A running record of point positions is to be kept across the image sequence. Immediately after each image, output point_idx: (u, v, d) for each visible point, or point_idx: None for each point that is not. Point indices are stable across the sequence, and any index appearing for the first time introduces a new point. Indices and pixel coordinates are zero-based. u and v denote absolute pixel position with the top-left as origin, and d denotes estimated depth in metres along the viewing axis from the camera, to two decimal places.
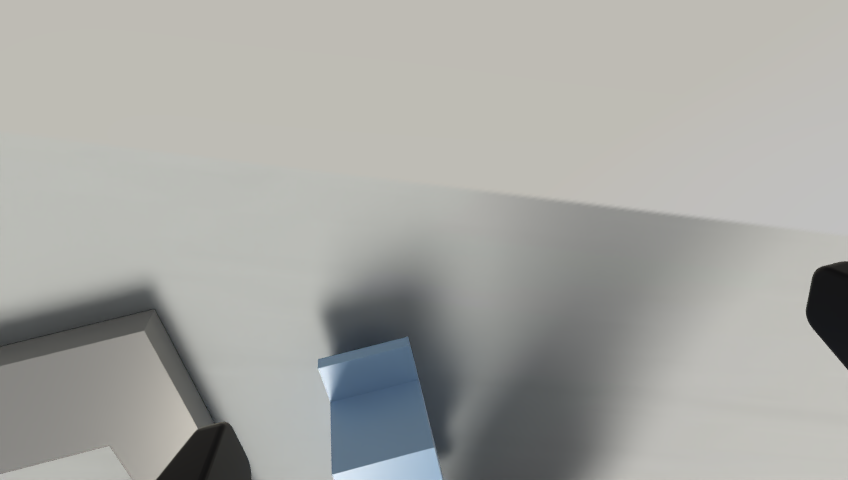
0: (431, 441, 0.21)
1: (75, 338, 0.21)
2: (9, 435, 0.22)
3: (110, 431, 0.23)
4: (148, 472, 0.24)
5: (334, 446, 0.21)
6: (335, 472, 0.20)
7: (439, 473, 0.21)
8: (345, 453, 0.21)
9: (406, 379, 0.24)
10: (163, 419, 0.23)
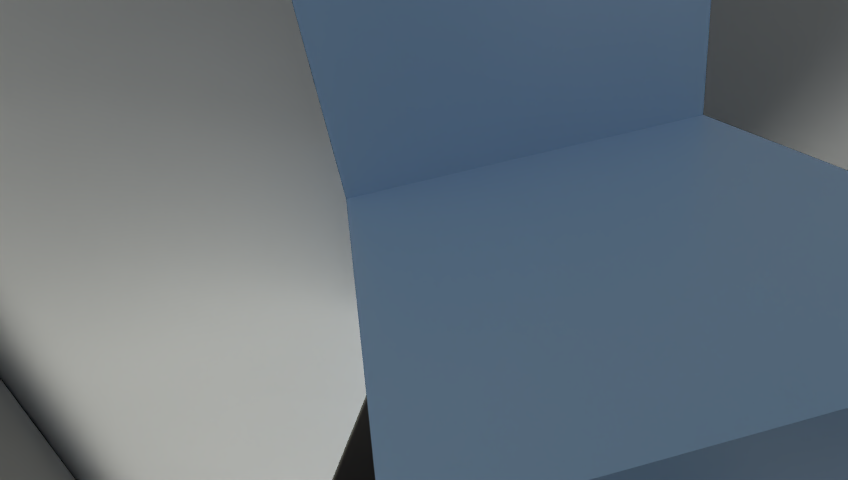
0: None
1: None
2: None
3: None
4: None
5: (381, 342, 0.03)
6: None
7: None
8: (464, 375, 0.03)
9: (659, 107, 0.06)
10: None
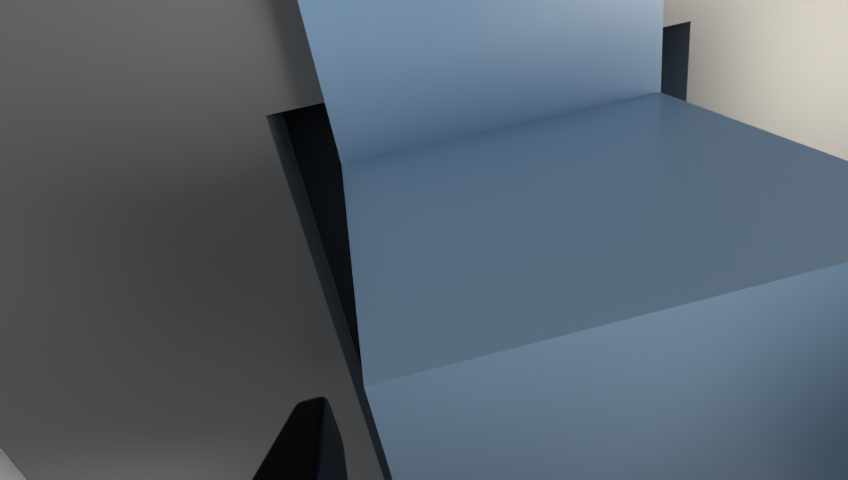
0: None
1: None
2: (208, 357, 0.08)
3: (188, 95, 0.06)
4: None
5: (368, 266, 0.04)
6: (387, 373, 0.03)
7: None
8: (434, 287, 0.04)
9: (621, 85, 0.06)
10: None
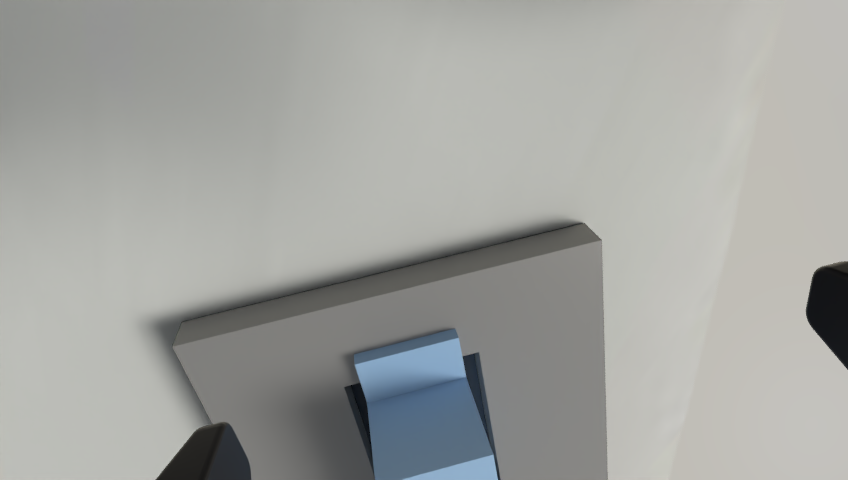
0: (489, 447, 0.18)
1: None
2: (319, 455, 0.22)
3: (321, 384, 0.21)
4: None
5: (375, 453, 0.19)
6: None
7: None
8: (389, 461, 0.18)
9: (452, 377, 0.21)
10: (308, 339, 0.20)
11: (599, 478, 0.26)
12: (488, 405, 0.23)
